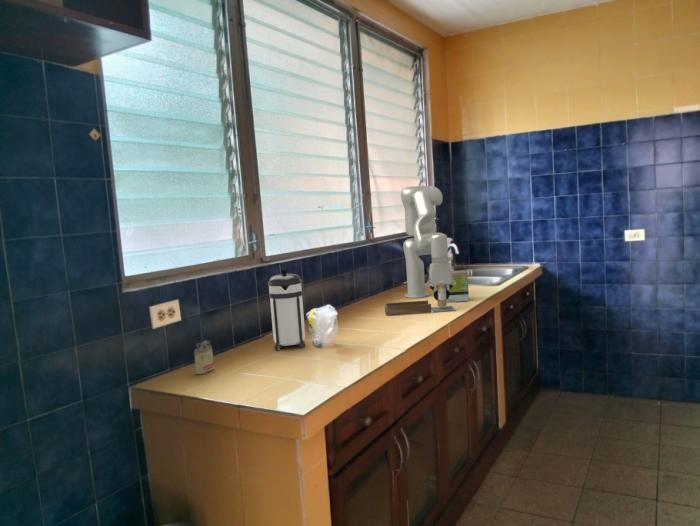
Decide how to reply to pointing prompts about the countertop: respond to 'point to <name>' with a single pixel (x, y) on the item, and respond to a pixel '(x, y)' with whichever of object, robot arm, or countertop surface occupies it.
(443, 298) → the sprinkles bottle
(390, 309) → the walnut lane
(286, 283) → the coffee press
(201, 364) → the pale green labeled container
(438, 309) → the mat
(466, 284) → the tea box
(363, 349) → the countertop surface
